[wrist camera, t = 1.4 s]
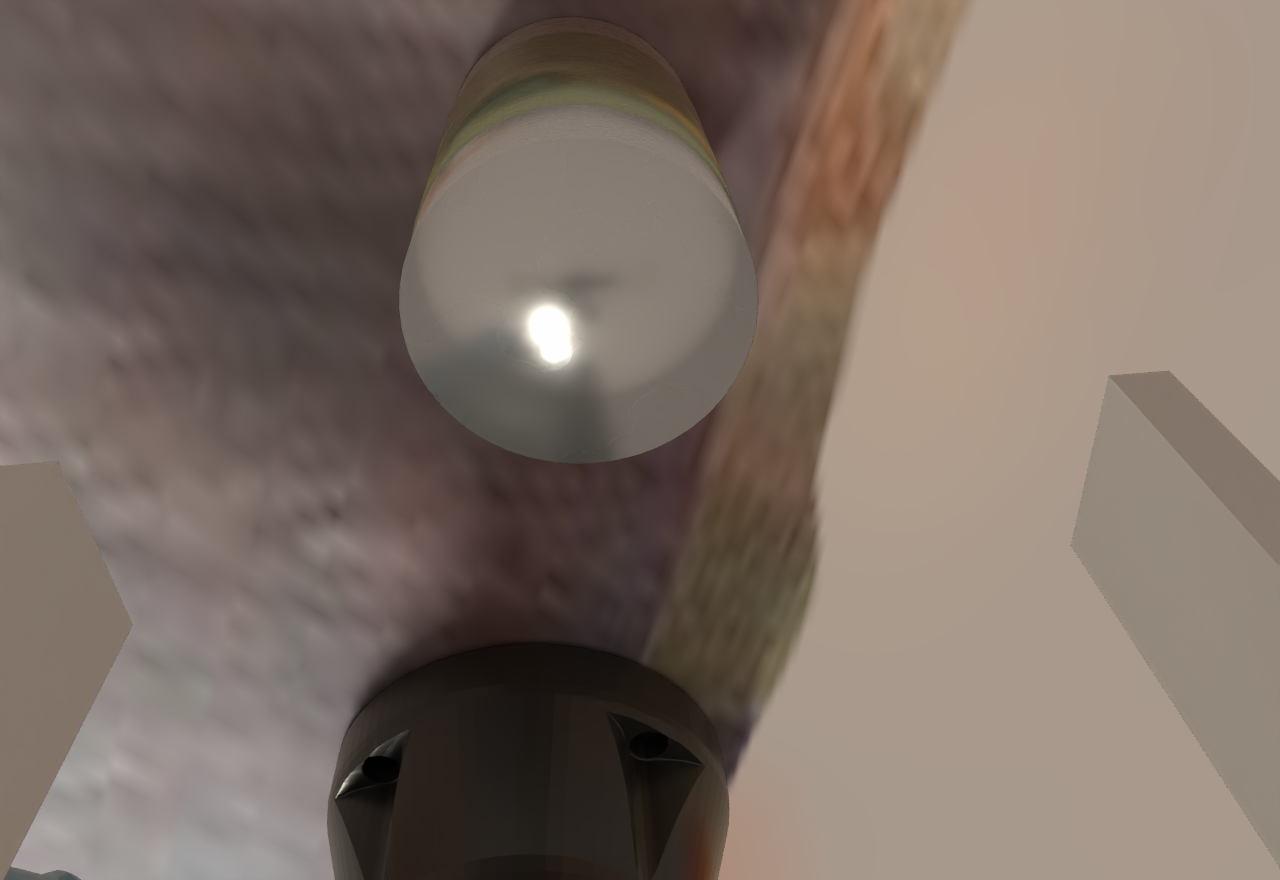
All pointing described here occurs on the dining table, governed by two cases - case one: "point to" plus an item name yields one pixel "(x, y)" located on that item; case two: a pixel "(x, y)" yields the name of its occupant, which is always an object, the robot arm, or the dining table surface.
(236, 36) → the dining table surface
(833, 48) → the dining table surface
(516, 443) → the tin can
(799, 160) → the dining table surface
